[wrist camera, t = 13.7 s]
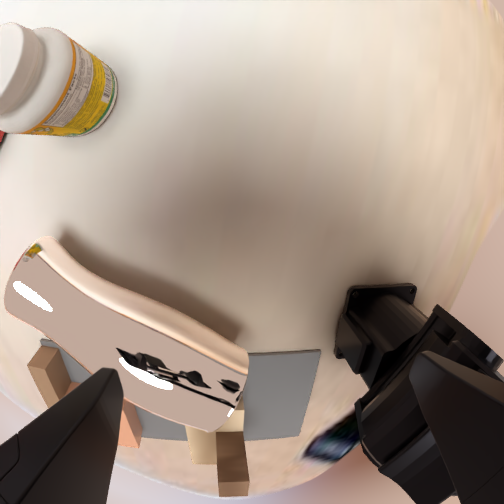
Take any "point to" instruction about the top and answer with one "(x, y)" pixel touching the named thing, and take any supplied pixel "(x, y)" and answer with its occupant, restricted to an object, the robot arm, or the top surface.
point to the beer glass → (129, 338)
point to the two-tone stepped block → (223, 453)
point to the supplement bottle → (51, 84)
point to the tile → (125, 423)
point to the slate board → (254, 395)
